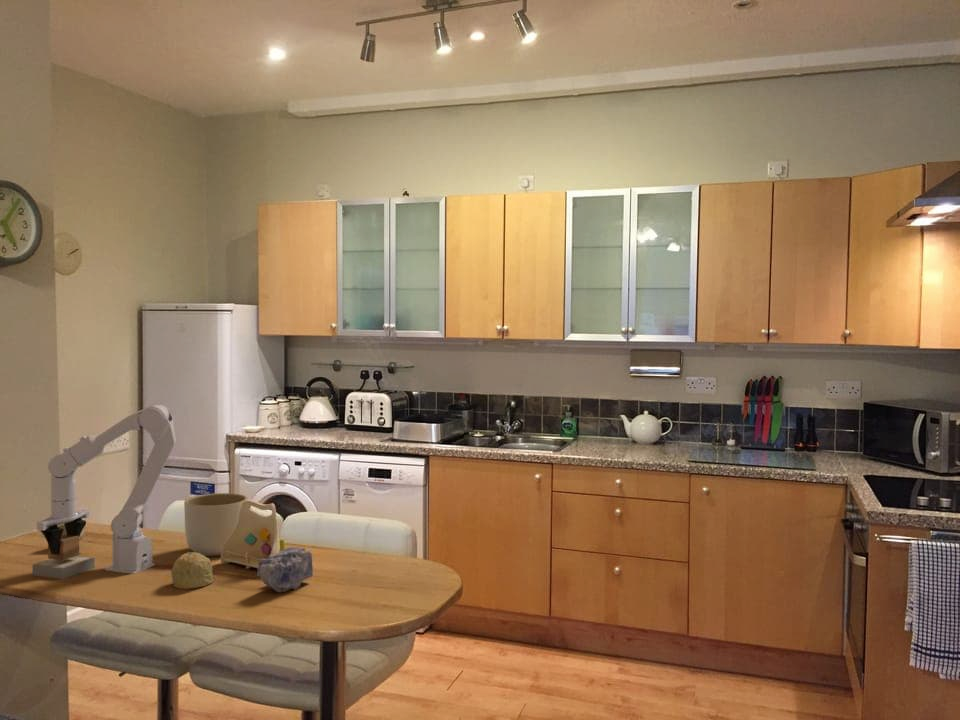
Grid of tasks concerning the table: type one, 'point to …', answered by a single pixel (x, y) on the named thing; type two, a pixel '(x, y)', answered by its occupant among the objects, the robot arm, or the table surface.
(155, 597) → the table surface
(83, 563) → the grey plinth
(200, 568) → the decorative object
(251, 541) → the shape sorter
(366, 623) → the table surface
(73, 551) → the walnut cube
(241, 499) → the planter
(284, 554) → the mineral
